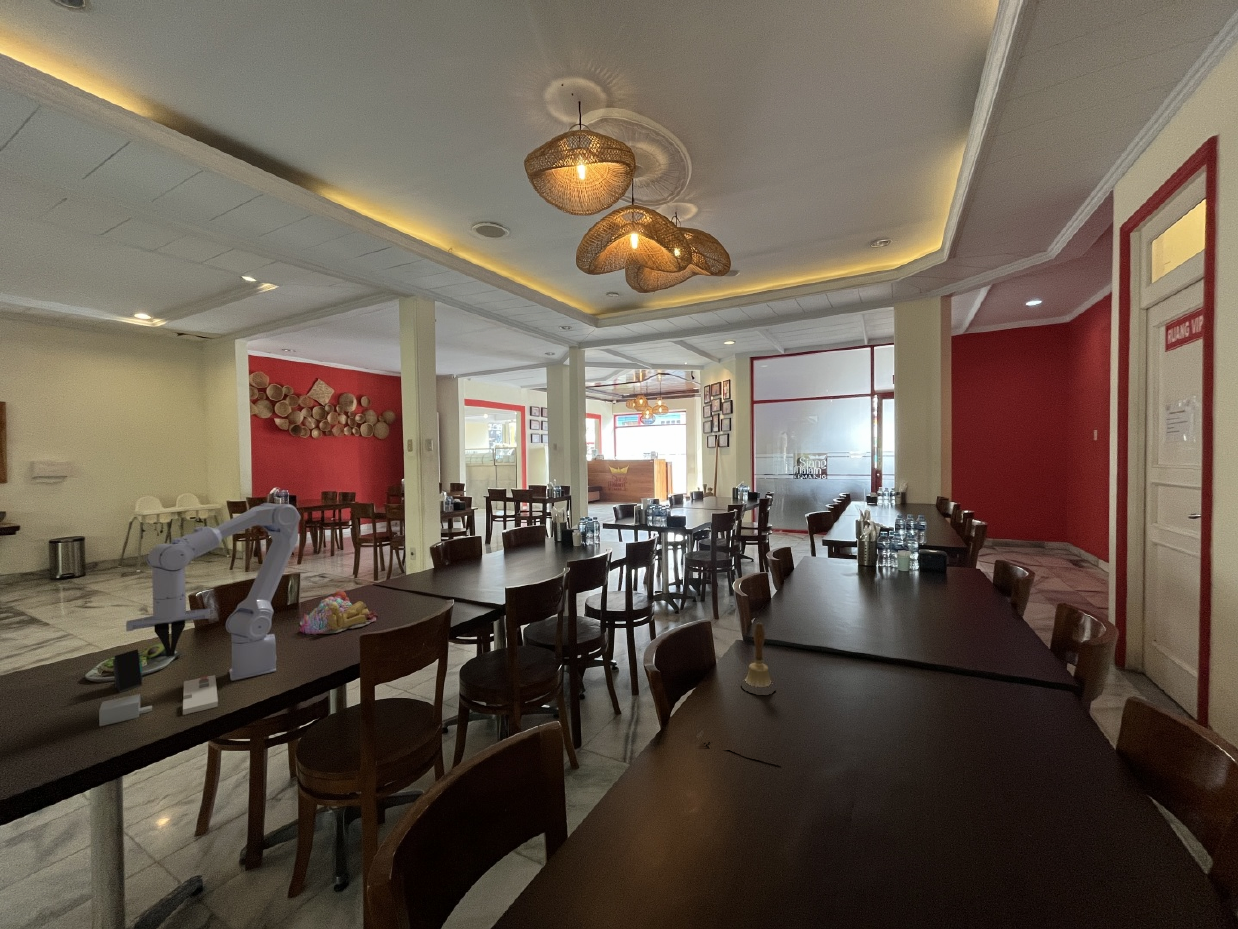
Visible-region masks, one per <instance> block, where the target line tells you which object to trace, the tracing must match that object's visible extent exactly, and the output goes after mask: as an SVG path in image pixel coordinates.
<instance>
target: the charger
mask: <svg viewBox="0 0 1238 929" xmlns="http://www.w3.org/2000/svg"><path fill="white" fill-rule="evenodd" d="M152 711H153V705H148V706H143V707H141V693H138V694H134V695H129V696H128V695H127V696H123V697H119V698H115V699H110V700H104V701H102V702H101V705H100V707H99V710H98V713H99V715H98V716H99V720H98V722H99V724H98V725H99V727H104V726H108V725H111V724H115V723H120V722H124V721H129V720H134V719H137V718H140V717H139V716H140V715H141V714H146V713H150V712H152Z"/></svg>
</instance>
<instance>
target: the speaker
mask: <svg viewBox="0 0 1238 929" xmlns="http://www.w3.org/2000/svg"><path fill="white" fill-rule="evenodd" d="M140 654H141V652H139V649H137V648H136V649H134V650H130V651H126V652H123V653H119V654H116V655H114V656H113V657H114V658H115V659H113V668H114V672H113V676H114V678H115V681H114V685H115V689H117V693H118V694H121V693H123V692H126V691H129V690H132V689H135V688H138V687H140V686H142V685H143V684H142V682H143V675H142V664H141V662H140Z"/></svg>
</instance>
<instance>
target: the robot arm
mask: <svg viewBox="0 0 1238 929" xmlns="http://www.w3.org/2000/svg"><path fill="white" fill-rule="evenodd" d="M301 518H302V517H301V515H300V513H299V511H298V510H297V508H296V507H295V506H294V505H293V504H289V503H285V504H284V503H283V504H280V503H271V502H264V503H262V504H259V505H256V506H253V507H251V508H250V509H249V510H246V511H245V512H243V513H241V514H239V515H236V516H235V517H233V518H231V519H229V520H226V521H225V522H223V523H221V524H219V525H217V526H215V527H211V526H197V527H194V528H193V531H192V532H189V533H187V534H185V535H183V536H181V537H173V538H171V542H170V543H159V544H158V545H155V546H154V547H152V549H151V550H150V551H149V553H148V555H147V556H146V557H145V561H146V563H147V565H148V566H150V568H151V570H152V576H151V577H152V580H151V581H152V615H149V616H146V617H141V618H140V617H139V618H137V619H131V620H126V623H125V628H126V629H125V631H126V632H131V631H135V630H141V629H146V628H152V627H153V628H154V633H155V634H156V636H157V637H158V639H159V640H160V643H162V644H163V646H164V648H165V651H166V656H167V657H170V656H174V655H175V651H176V648H177V645H178V642H179V639H180V637H181V635H182V633H183V632H184V630H185V627H186V622H188V621H189V622H191V621H196V620H203V619H211V609H210V608H204V609H203V608H201V609H192V610H187V606H186V605H187V604H186V602H187V600H186V598H187V596H186V595H187V594H186V567H187V566H188V565H189V563H190V562H191V561H192V560H194V559H196V558H198V557H200V556H202V555H205V554H206V553H209V552H210V551H212V550H214V549H217V548H218V547H220V546H221V542H222V541H223V540H225V539H226V538H229V537H231V536H233V535H236V534H238V533H240V532H242V531H245V530H248V529H249V528H252V527H255V526H261V528H263V529H264V530H265V531H266V532H267V533H268V535H269V537H270V538H271V540H272V542H271V544H270V546H269V548H268V551H267V553H266V554H265V557H264V560H263V562H262V564H261V566H260V567H259V571H258V573H257V575H256V577H255V579H254V581H253V584H252V586H251V588H250V590H249V593H248V595H247V597H246V598H244V599H243V601H240V602H239V603H238V604H237V606H236V608H235V609H234V611H233V612H232V613H231V614H230V615H229V616H228V617H227V619H226V622H225V629H226V631H227V632H228V633H229V634H231V637H230V638H231V668H230V669H229V676H230V681H232V682H233V681H238V680H242V679H247V678H251V677H257V676H260V675H261V676H262V675H266V674H268V673H269V674H270V673H274V672H276V671H277V647H276V645H277V644H276V636H275V633H270V634H268V633H269V632H270V631H271V628H272V619H273V615H274V612H275V611H274V609H273V606H272V600H273V597H274V596H275V592H276V591H277V589H278V586H279V583H280V581H281V579H282V576H283V574H284V573H285V570H286V568H287V565H288V563H289V562H290V561H289V560H290V558H291V556H292V553H293V552H294V549H295V547H296V545H297V542H298V540H299V523H300V520H301ZM170 633H171V634H170ZM170 635H171V637H170ZM170 638H171V642H170Z"/></svg>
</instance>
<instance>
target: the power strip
mask: <svg viewBox="0 0 1238 929" xmlns="http://www.w3.org/2000/svg"><path fill="white" fill-rule="evenodd" d="M217 690H218V688H217V681H216V674H214V675H209V676H205V675H204V676H201V677H199V678H195V679H190V680H185V681H183V700H182V716H184V715H189V714H192V713H196V712H197V713H198V712H202V711H205V710H209V709H213V708H217V707H218V706H219V698H218V691H217Z"/></svg>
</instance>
